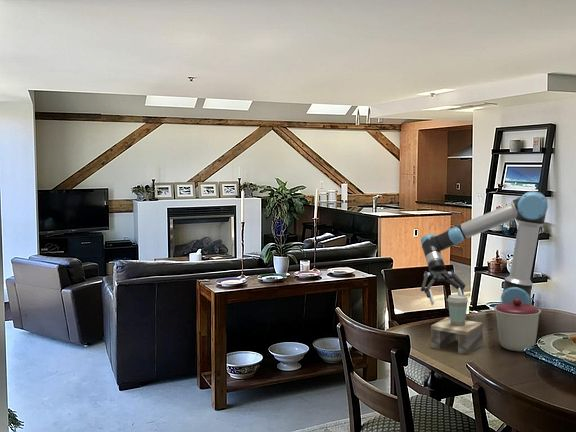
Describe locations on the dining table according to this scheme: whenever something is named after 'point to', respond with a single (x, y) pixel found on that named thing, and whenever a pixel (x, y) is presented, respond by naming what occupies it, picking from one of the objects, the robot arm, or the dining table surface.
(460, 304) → the coffee cup
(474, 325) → the shelf
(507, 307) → the canister
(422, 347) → the dining table surface
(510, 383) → the dining table surface
